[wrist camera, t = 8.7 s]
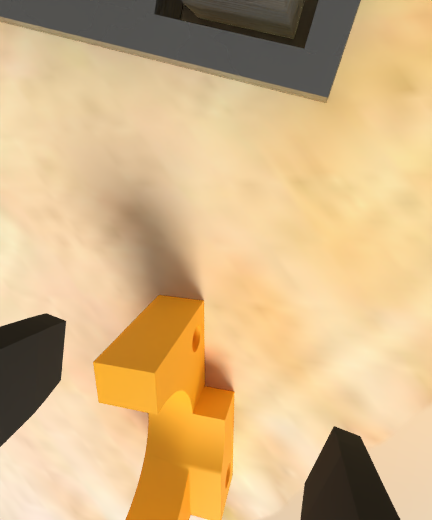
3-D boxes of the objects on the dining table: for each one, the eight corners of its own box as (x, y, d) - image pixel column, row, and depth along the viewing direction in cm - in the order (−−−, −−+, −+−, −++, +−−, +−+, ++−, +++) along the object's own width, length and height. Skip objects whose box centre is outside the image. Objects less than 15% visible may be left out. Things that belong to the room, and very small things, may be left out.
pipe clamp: (233, 472, 23) (203, 591, 17) (169, 457, 24) (120, 563, 18) (237, 302, 19) (199, 381, 13) (160, 293, 20) (93, 362, 14)
